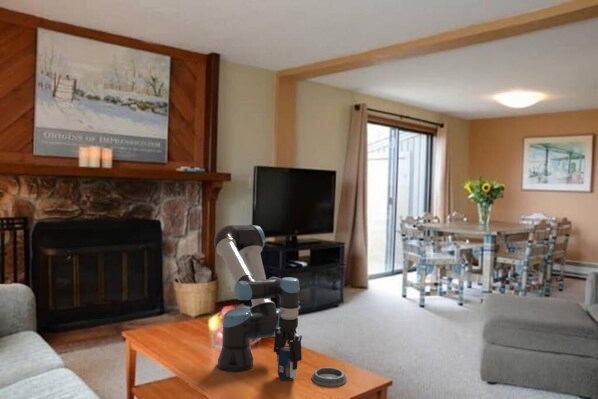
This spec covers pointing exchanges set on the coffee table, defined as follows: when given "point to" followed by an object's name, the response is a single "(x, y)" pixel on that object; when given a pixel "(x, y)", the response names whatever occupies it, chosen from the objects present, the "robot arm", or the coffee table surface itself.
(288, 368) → the soda can
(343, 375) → the can holder
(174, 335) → the coffee table surface
